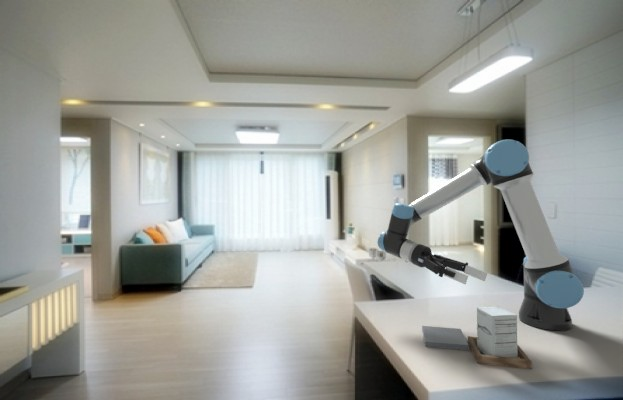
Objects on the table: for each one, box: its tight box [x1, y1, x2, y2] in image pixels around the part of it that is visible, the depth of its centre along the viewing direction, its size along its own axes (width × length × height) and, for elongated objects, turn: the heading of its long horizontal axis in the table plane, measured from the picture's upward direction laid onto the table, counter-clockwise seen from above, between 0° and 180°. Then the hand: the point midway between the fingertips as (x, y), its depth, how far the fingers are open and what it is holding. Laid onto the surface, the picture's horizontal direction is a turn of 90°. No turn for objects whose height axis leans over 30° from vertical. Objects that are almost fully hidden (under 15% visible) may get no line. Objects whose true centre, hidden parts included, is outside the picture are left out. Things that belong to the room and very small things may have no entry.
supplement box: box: [476, 305, 519, 358], centre depth 89 cm, size 7×7×13 cm
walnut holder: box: [467, 336, 532, 370], centre depth 89 cm, size 12×12×2 cm
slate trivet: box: [421, 325, 470, 351], centre depth 99 cm, size 12×12×2 cm
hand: (476, 278), depth 96 cm, fingers open, 13 cm apart
